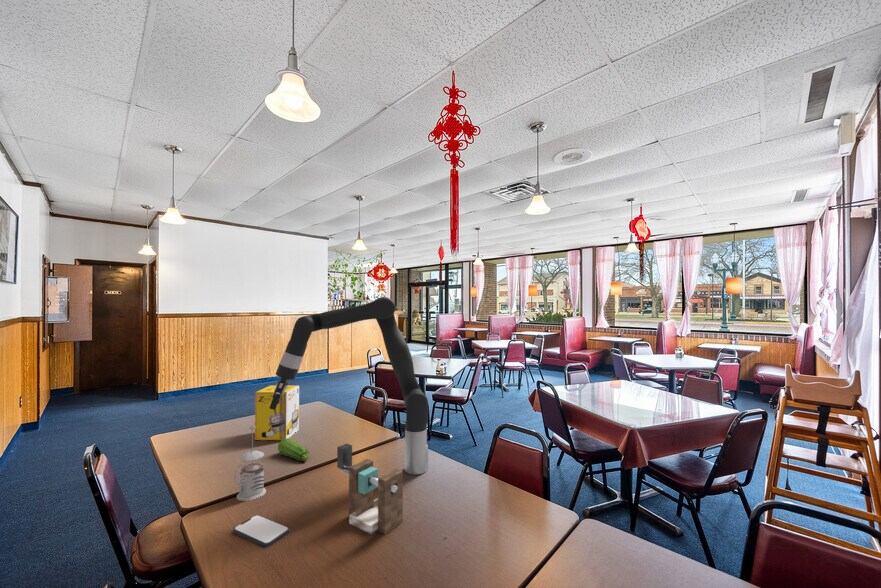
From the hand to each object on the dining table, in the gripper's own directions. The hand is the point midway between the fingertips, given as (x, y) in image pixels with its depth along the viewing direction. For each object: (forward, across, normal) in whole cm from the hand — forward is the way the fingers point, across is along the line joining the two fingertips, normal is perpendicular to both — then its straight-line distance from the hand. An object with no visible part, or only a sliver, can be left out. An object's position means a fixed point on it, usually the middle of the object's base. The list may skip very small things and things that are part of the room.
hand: (274, 406), depth 139 cm
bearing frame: (+18, -30, -43) cm, 56 cm away
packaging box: (+32, +62, -4) cm, 69 cm away
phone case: (+30, -28, -11) cm, 42 cm away
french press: (+32, -2, -3) cm, 32 cm away
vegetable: (+28, +29, -15) cm, 43 cm away
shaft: (+8, -28, -38) cm, 47 cm away
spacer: (+10, -28, -39) cm, 49 cm away
